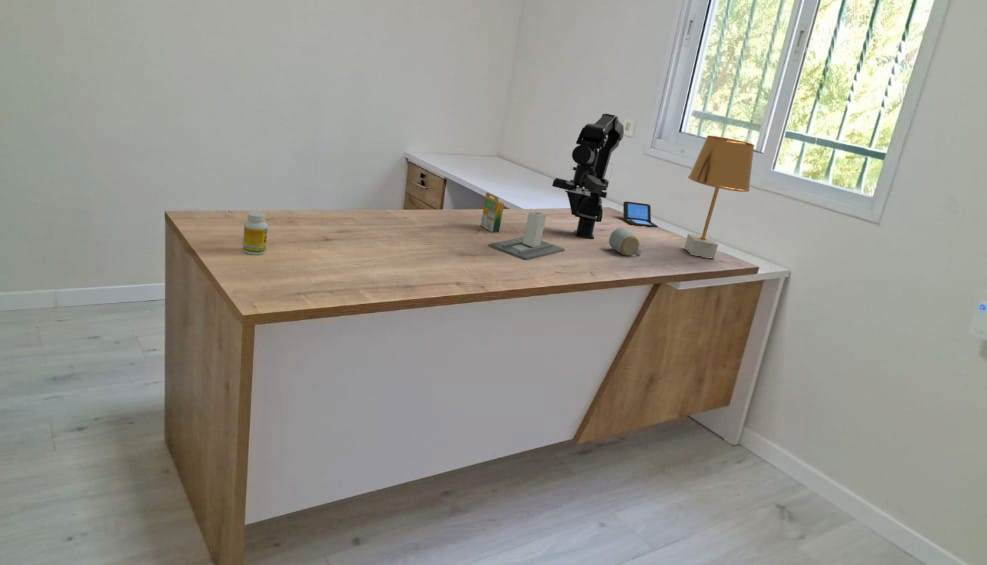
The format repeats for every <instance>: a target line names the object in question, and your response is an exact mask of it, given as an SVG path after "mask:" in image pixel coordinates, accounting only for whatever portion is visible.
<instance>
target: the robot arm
mask: <svg viewBox="0 0 987 565" xmlns="http://www.w3.org/2000/svg"><path fill="white" fill-rule="evenodd" d="M624 131H625V130H624V125H623V123H621V122H620V120H619V118H618V116H617V115H615V114H610V113H602V115H601V117H600V118H599V119H598V120H597V121H595V123H587V124H585V126H584V127H582V129H581V130H580V133H579V135H578V137H577V140H576V142H575V144H576V145H577V146H576V147H575V148H573V150H572V152H571V157H572V159H573V162H575V163H576V166H573V168H572V170H573V171H574V176H573V178H572V179H570V180H567V179H563V178H558V177H555V179H554V180H553V182H552V185H551V186H552V187H553V188H554V187H555V188H557V189H562V190H564V192H565V193H566V195H567V197H568V202H569V207H570V213H571V215H572V216H574V218H575V217H576V218H578V221H577V227H576V230H575V229H574V235H575V236H576V237H581V238H587V239H591V240H594V239H595V236H594V229H595V225H596V223H601V222H603V221H602V219H603V213H604V212H603V211H604V210H603V200H602V198H604V199H606V198H607V195H608V191H607V189H608V187H609V180H608V179H607V178H606V179H605V177H606V174H607V170H608V167H609V163H610V160H611V156H612V153H613V152H614V151H615V150H616V149H617V148H618V147H619V145H620V142H621V141H623V137H624V133H625V132H624Z"/></svg>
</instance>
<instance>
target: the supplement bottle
mask: <svg viewBox="0 0 987 565" xmlns="http://www.w3.org/2000/svg"><path fill="white" fill-rule="evenodd" d="M246 218H247V220H246V221H245V222H244V223H243V235H242V236H243V237H242V252H244V253H246V254H248V255H251V256H253V255H254V256H256V255H257V256H258V255H259V256H260V255H263V254H265V253H266V252H267V251H266V250H267V237H268V224H267V222H266V221H265V220H266V214H265V213H264V212H262V211H261V212H260V211H249V212H248V213H247V217H246Z"/></svg>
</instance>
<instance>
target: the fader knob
mask: <svg viewBox="0 0 987 565" xmlns="http://www.w3.org/2000/svg"><path fill="white" fill-rule="evenodd" d="M546 219H547V214H545V213H542V212H538V211H530V212H528V214H527V218H526V225H525V228H524V229H525V230H524V235H523V237H524V239H523V244H526V245H528V246H531V247H537V246H540V244H541V240H543V239H542V238H543V234H544V228H545V222H546Z"/></svg>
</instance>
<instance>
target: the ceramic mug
mask: <svg viewBox="0 0 987 565" xmlns="http://www.w3.org/2000/svg"><path fill="white" fill-rule="evenodd" d="M608 242H609V243H608V244H609V246H610V247H611V248H612V249H613V250H614V251H616V252H619V253H620V254H621V255H622V256H625V257H629V256H633V255H634V254H636V255H638V256H641V254H642V253H643V251H642V250H641V249H639V248H640V241H639V239H638V237H636V235H635V234H633V233H632V232H631V231H629V230H628V229H627V228H625V227H617V228H616V229H614V230H613V231H612V232H611V233H610V235H609V239H608Z"/></svg>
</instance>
